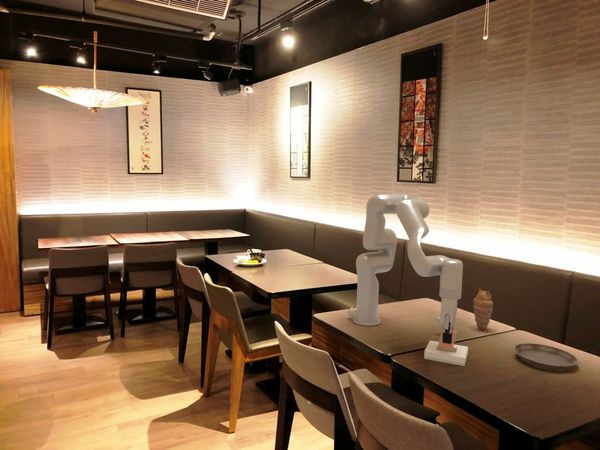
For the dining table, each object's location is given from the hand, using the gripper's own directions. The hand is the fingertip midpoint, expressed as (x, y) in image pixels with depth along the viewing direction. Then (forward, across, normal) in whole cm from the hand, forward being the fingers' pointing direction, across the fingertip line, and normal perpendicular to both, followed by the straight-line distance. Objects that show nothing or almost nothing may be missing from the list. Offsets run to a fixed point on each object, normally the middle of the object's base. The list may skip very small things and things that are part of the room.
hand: (447, 341), depth 172 cm
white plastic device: (+6, -25, -4) cm, 26 cm away
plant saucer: (+7, -13, +33) cm, 36 cm away
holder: (+6, 0, 0) cm, 6 cm away
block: (+2, 0, 0) cm, 2 cm away
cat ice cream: (+6, -39, +10) cm, 41 cm away
